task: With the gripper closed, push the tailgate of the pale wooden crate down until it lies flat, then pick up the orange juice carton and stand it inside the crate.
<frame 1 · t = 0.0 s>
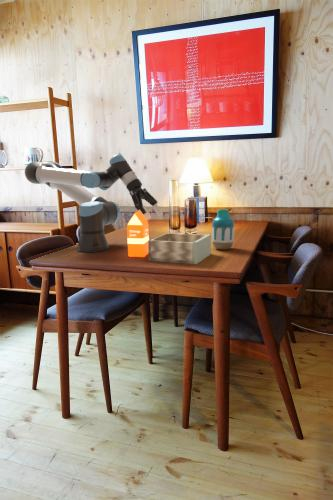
hand: (155, 217, 191), 15 cm above the table, tool tilted 35°, fingers open, 13 cm apart
tailgate: (202, 248, 166), point 5 cm above the table, hinge at 0.0°
orange juice: (139, 255, 179), on the table
crate: (178, 257, 171), on the table
vase: (222, 249, 185), on the table
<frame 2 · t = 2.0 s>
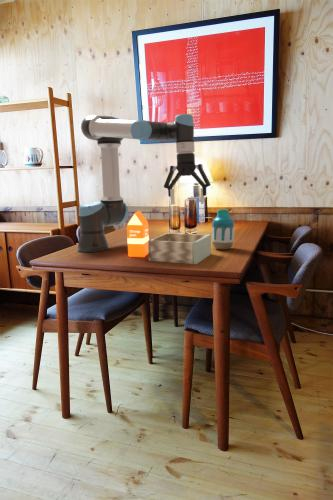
hand: (187, 204, 166), 24 cm above the table, tool pointing down, fingers open, 13 cm apart
nothing on the table moved.
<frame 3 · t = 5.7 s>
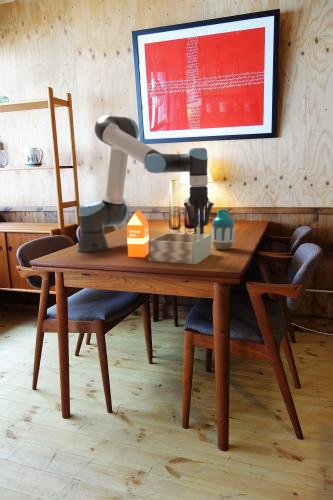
hand: (199, 241, 166), 8 cm above the table, tool pointing down, fingers closed
tailgate: (202, 248, 166), point 5 cm above the table, hinge at 0.0°, touching gripper
everything else where it was.
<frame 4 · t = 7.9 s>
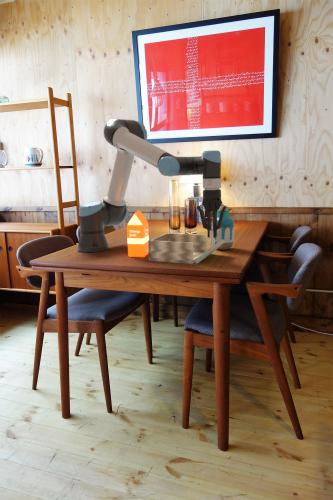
hand: (212, 245, 164), 7 cm above the table, tool pointing down, fingers closed
tailgate: (210, 251, 165), point 4 cm above the table, hinge at 47.6°, touching gripper
everything else where it was.
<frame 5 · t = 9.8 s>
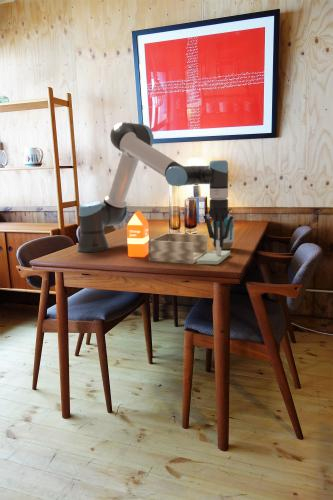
hand: (218, 254, 163), 3 cm above the table, tool pointing down, fingers closed
tailgate: (214, 257, 164), point 1 cm above the table, hinge at 86.4°
everything else where it was.
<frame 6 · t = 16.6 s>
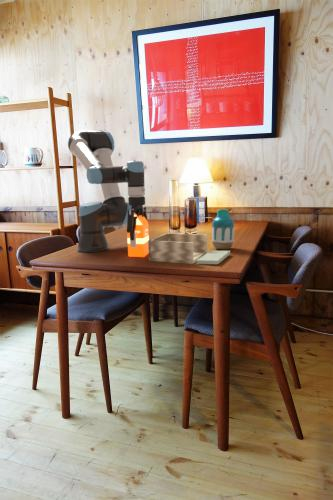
hand: (138, 244, 178), 5 cm above the table, tool pointing down, fingers closed on orange juice, 9 cm apart
orange juice: (139, 255, 179), on the table, touching gripper
everything else where it was.
when the fingers open (8 cm above the table, at t = 23.5 s): orange juice drops 1 cm, resting on crate.
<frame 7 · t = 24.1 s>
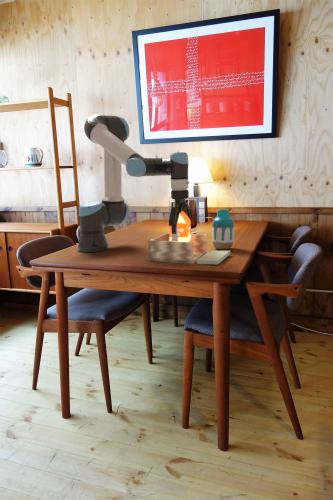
hand: (180, 238, 169), 9 cm above the table, tool pointing down, fingers open, 13 cm apart
orange juice: (180, 254, 171), point 1 cm above the table, touching crate
everything else where it was.
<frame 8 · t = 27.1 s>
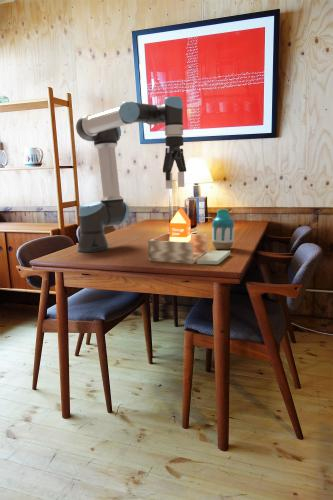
hand: (175, 187, 165), 31 cm above the table, tool pointing down, fingers open, 13 cm apart
nothing on the table moved.
at the end: tailgate at +86° (first picture: +0°); orange juice inside the target area on the crate (0.1 cm from its centre), point 1.3 cm above the crate's base; orange juice tilted 0° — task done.
